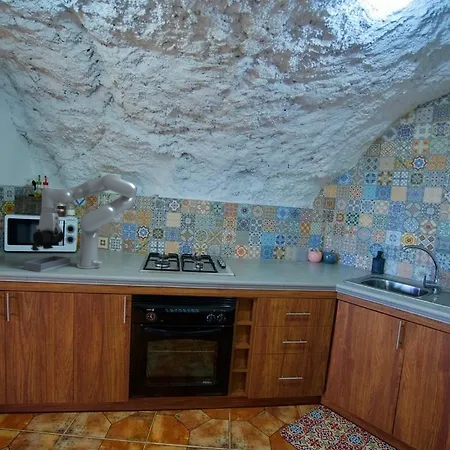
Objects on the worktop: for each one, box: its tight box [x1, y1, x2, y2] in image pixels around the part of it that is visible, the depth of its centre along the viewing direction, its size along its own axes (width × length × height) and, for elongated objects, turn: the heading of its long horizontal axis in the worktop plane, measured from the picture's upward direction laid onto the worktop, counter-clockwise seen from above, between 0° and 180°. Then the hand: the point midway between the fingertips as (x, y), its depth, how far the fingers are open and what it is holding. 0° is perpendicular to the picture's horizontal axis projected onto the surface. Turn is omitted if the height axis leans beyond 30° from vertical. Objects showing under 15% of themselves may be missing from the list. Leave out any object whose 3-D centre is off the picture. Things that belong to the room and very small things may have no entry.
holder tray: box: [23, 255, 71, 273], centre depth 181 cm, size 11×22×4 cm, turn 166°
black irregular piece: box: [30, 230, 65, 252], centre depth 179 cm, size 7×18×10 cm, turn 163°
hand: (48, 241), depth 180 cm, fingers closed on black irregular piece, 7 cm apart
